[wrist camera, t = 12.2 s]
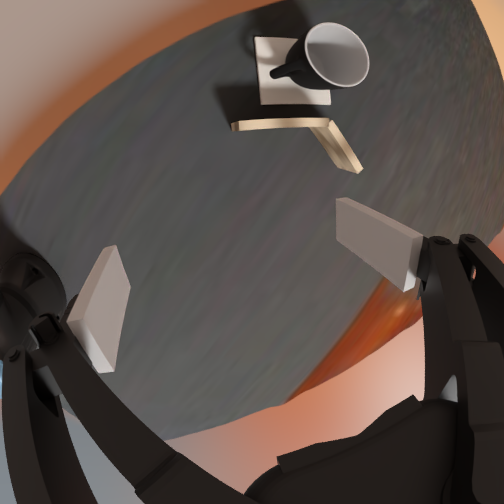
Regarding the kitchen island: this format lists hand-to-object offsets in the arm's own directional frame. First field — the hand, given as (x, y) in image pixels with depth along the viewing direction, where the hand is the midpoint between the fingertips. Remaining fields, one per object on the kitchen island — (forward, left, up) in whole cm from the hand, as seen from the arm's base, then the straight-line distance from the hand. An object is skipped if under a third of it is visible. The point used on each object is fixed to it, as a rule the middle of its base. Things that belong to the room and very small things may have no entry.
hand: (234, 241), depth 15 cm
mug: (+15, +15, -25) cm, 32 cm away
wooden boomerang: (+13, +3, -25) cm, 28 cm away
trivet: (+14, +15, -25) cm, 32 cm away
